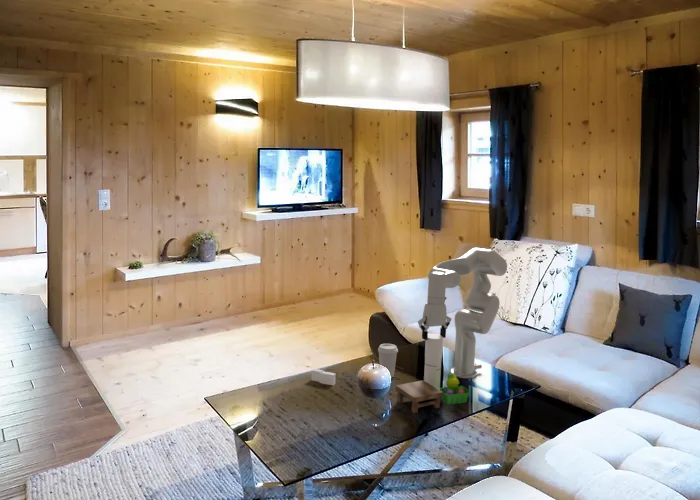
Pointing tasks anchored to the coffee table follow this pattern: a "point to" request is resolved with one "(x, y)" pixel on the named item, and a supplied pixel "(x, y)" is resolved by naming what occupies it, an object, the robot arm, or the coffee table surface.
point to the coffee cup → (388, 356)
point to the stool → (419, 394)
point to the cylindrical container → (433, 360)
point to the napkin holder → (323, 377)
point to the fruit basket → (454, 391)
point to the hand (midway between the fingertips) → (433, 338)
